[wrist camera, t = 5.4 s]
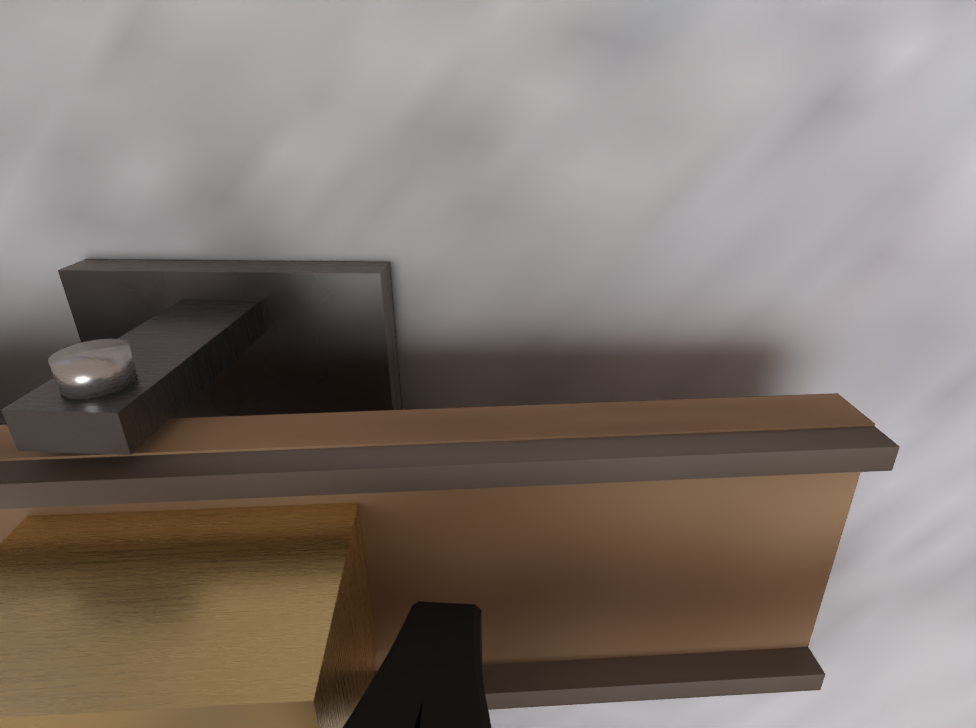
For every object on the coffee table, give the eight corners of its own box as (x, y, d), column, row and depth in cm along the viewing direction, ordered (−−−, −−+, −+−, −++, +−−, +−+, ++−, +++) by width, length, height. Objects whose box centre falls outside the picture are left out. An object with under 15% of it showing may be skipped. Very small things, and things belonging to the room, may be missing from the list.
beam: (714, 516, 19) (819, 691, 13) (-276, 562, 17) (-600, 775, 12) (749, 322, 16) (900, 444, 11) (-421, 360, 15) (-923, 520, 9)
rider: (377, 652, 13) (347, 872, 9) (90, 667, 13) (-54, 899, 9) (358, 502, 11) (313, 700, 8) (27, 516, 11) (-180, 728, 7)
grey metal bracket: (415, 567, 19) (360, 781, 13) (175, 556, 20) (23, 755, 14) (389, 261, 15) (292, 378, 9) (85, 259, 16) (-188, 366, 10)
